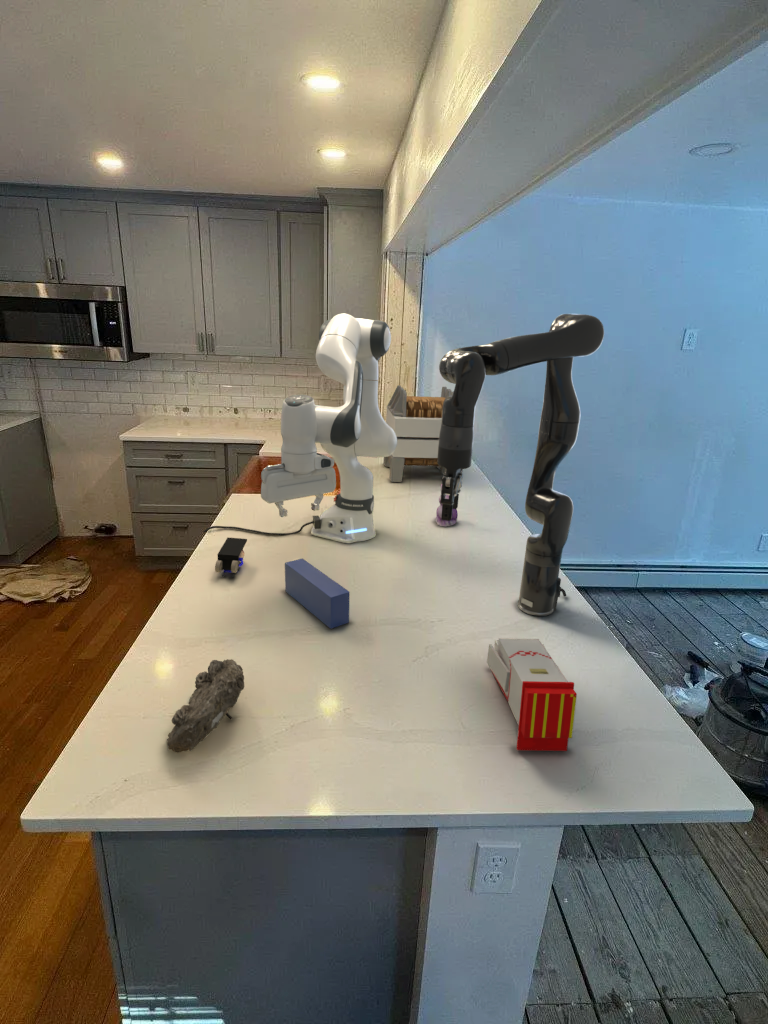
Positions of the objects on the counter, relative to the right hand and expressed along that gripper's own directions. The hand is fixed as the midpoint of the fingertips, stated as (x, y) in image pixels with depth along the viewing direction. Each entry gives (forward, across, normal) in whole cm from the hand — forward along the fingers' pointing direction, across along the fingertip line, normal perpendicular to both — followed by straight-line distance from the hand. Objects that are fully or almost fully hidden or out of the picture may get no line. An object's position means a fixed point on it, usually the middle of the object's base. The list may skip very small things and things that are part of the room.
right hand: (449, 513), depth 130 cm
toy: (+31, -21, -21) cm, 43 cm away
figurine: (+31, +76, +12) cm, 83 cm away
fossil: (+31, -45, +36) cm, 65 cm away
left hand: (+7, +6, +40) cm, 41 cm away
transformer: (+31, +138, +36) cm, 146 cm away
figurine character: (+31, +12, +65) cm, 73 cm away
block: (+31, +1, +33) cm, 46 cm away
